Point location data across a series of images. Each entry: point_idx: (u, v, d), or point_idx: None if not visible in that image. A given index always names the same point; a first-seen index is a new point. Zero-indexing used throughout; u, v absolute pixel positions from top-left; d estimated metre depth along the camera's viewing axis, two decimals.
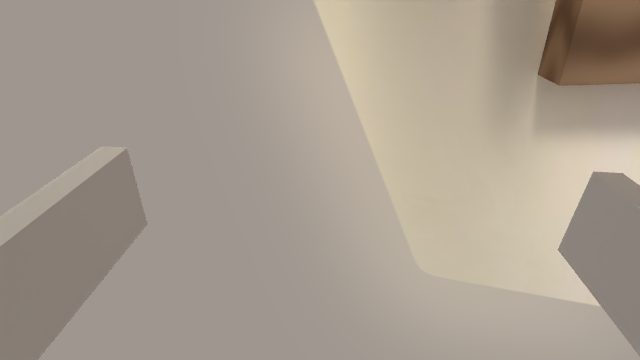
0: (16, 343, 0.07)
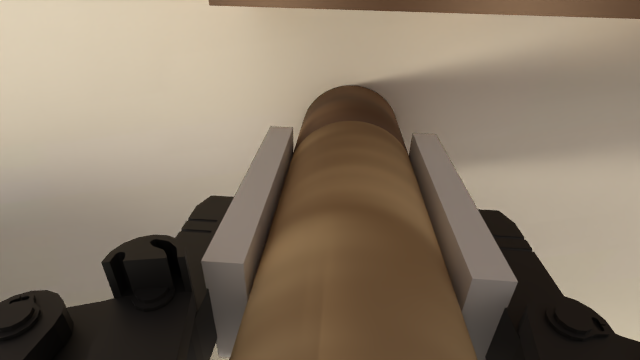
0: None
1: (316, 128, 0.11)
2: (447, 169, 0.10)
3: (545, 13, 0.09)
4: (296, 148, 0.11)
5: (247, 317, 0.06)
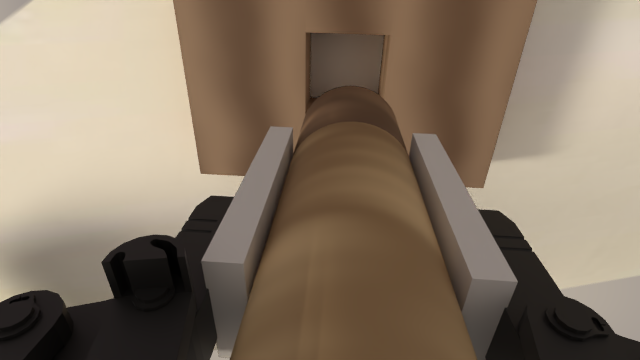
0: None
1: (316, 128, 0.11)
2: (447, 169, 0.10)
3: None
4: (296, 149, 0.11)
5: (246, 319, 0.06)
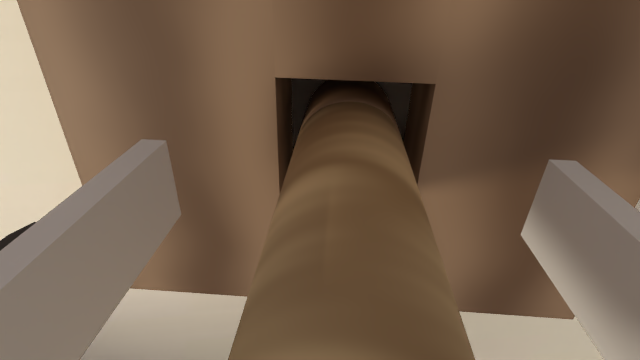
0: (80, 319, 0.07)
1: (319, 108, 0.13)
2: (627, 209, 0.08)
3: None
4: (302, 126, 0.13)
5: (269, 238, 0.07)
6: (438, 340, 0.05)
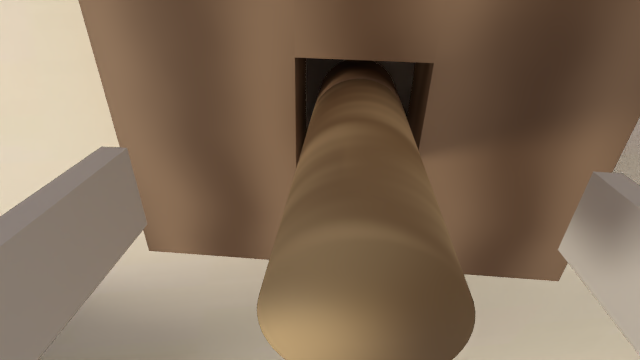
0: (16, 343, 0.07)
1: (332, 85, 0.15)
2: None
3: None
4: (317, 101, 0.15)
5: (297, 176, 0.09)
6: (426, 224, 0.07)
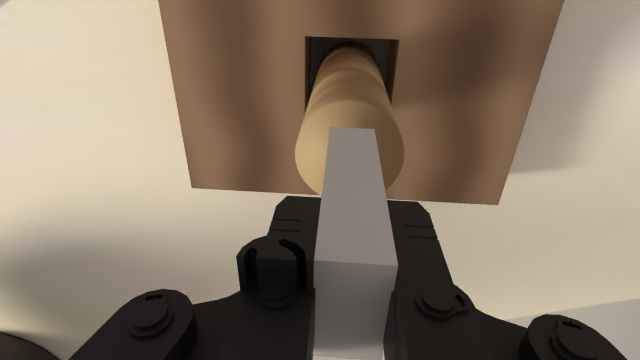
0: None
1: (330, 56, 0.21)
2: (372, 162, 0.10)
3: (308, 193, 0.26)
4: (320, 67, 0.21)
5: (311, 98, 0.16)
6: (380, 105, 0.13)
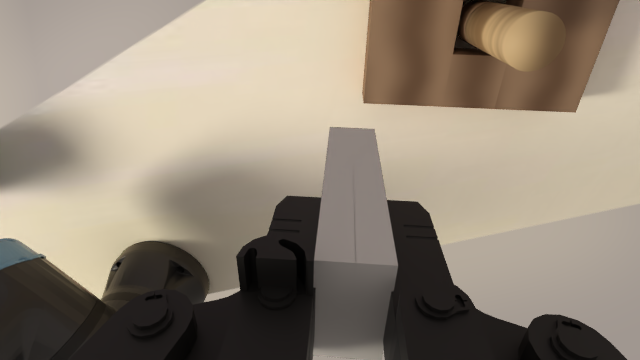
0: None
1: (478, 6, 0.33)
2: (372, 162, 0.10)
3: (444, 106, 0.38)
4: (470, 13, 0.34)
5: (496, 20, 0.28)
6: None
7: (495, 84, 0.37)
